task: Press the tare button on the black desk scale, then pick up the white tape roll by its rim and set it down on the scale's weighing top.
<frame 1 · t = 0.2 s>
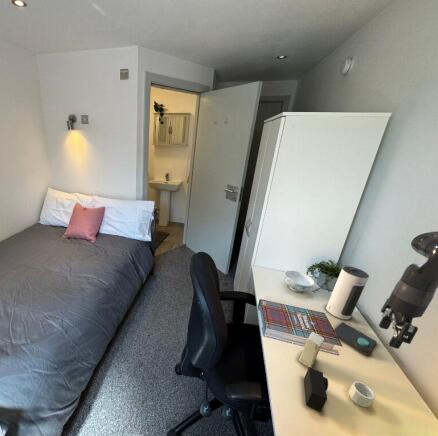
hand: (387, 336, 74), 27 cm above the table, tool pointing down, fingers open, 8 cm apart
cosmetic box: (306, 360, 95), on the table
speaker: (337, 312, 122), on the table
tare button: (362, 342, 100), point 3 cm above the table, slide at 0.1 cm
chinaware: (295, 288, 139), on the table
white tape roll: (358, 399, 81), on the table
digital camera: (313, 396, 82), on the table
scale: (353, 338, 106), on the table
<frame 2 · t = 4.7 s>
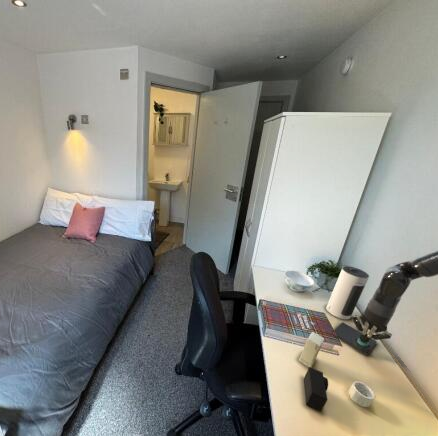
hand: (363, 341, 100), 4 cm above the table, tool pointing down, fingers closed
tare button: (362, 342, 100), point 3 cm above the table, slide at -0.1 cm, touching gripper
everything else where it was.
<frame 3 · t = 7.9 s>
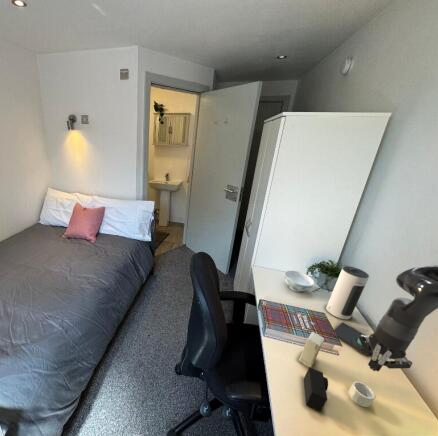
hand: (372, 368, 77), 14 cm above the table, tool pointing down, fingers closed
tare button: (362, 342, 100), point 3 cm above the table, slide at 0.1 cm
everything else where it was.
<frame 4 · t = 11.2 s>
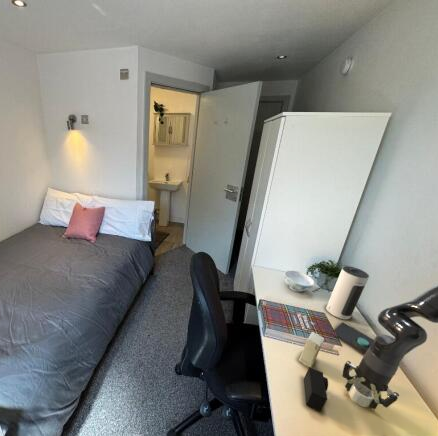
hand: (359, 397, 81), 1 cm above the table, tool pointing down, fingers closed on white tape roll, 6 cm apart
white tape roll: (358, 399, 81), on the table, touching gripper
everything else where it was.
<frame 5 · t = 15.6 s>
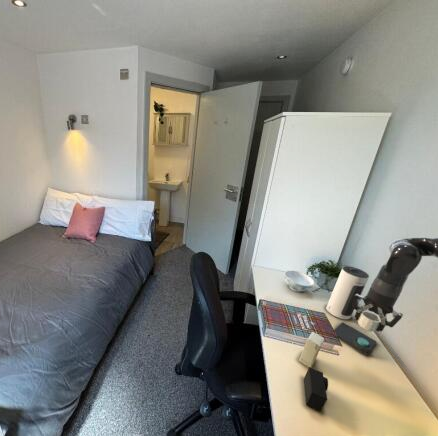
hand: (367, 324, 91), 18 cm above the table, tool pointing down, fingers closed on white tape roll, 6 cm apart
white tape roll: (366, 326, 91), point 17 cm above the table, touching gripper
everything else where it was.
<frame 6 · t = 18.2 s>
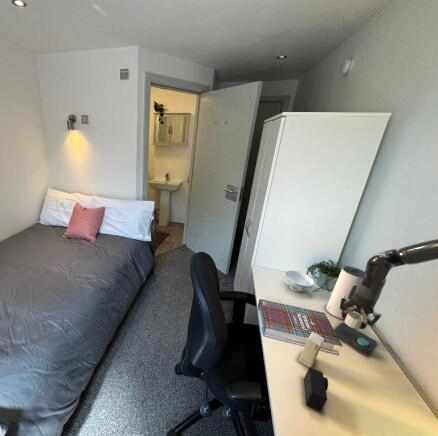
hand: (352, 323, 106), 7 cm above the table, tool pointing down, fingers closed on white tape roll, 6 cm apart
white tape roll: (351, 324, 106), point 6 cm above the table, touching gripper
everything else where it was.
when the fingers open (2 cm above the table, at t = 20.0 s): white tape roll stays where it is, resting on scale.
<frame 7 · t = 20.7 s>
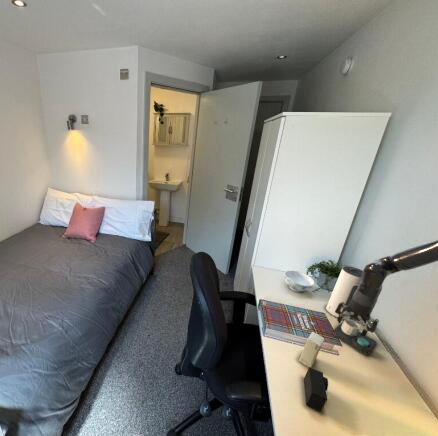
hand: (350, 328, 107), 4 cm above the table, tool pointing down, fingers open, 8 cm apart
white tape roll: (348, 331, 108), point 1 cm above the table, touching scale
everything else where it was.
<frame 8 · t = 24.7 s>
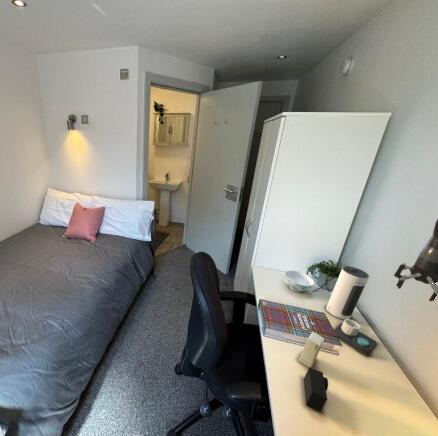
hand: (414, 293, 91), 30 cm above the table, tool pointing down, fingers open, 8 cm apart
nothing on the table moved.
at the end: tare button pushed in 0.9 cm at the most during the clip, back to where it started at the end; tare button slide at 0.1 cm; white tape roll inside the target area on the scale (0.2 cm from its centre), point 1.4 cm above the scale's base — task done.
